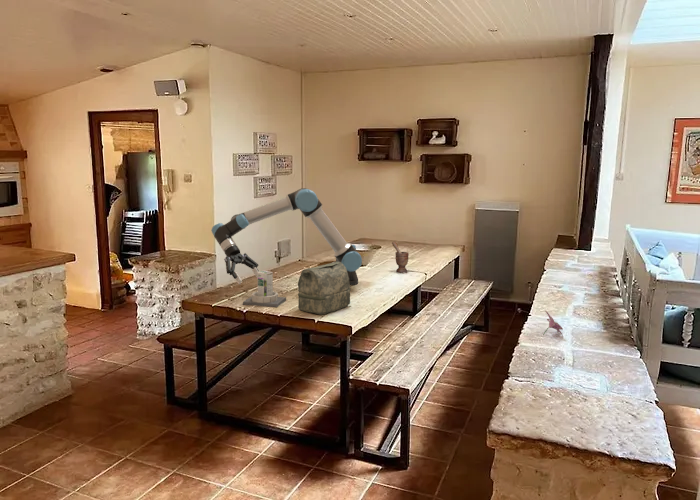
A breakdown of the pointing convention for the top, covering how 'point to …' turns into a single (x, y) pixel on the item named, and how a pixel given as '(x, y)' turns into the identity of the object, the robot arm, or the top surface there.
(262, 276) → the syrup box
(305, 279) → the lunch bag
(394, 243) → the mortar and pestle
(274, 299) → the ring block
